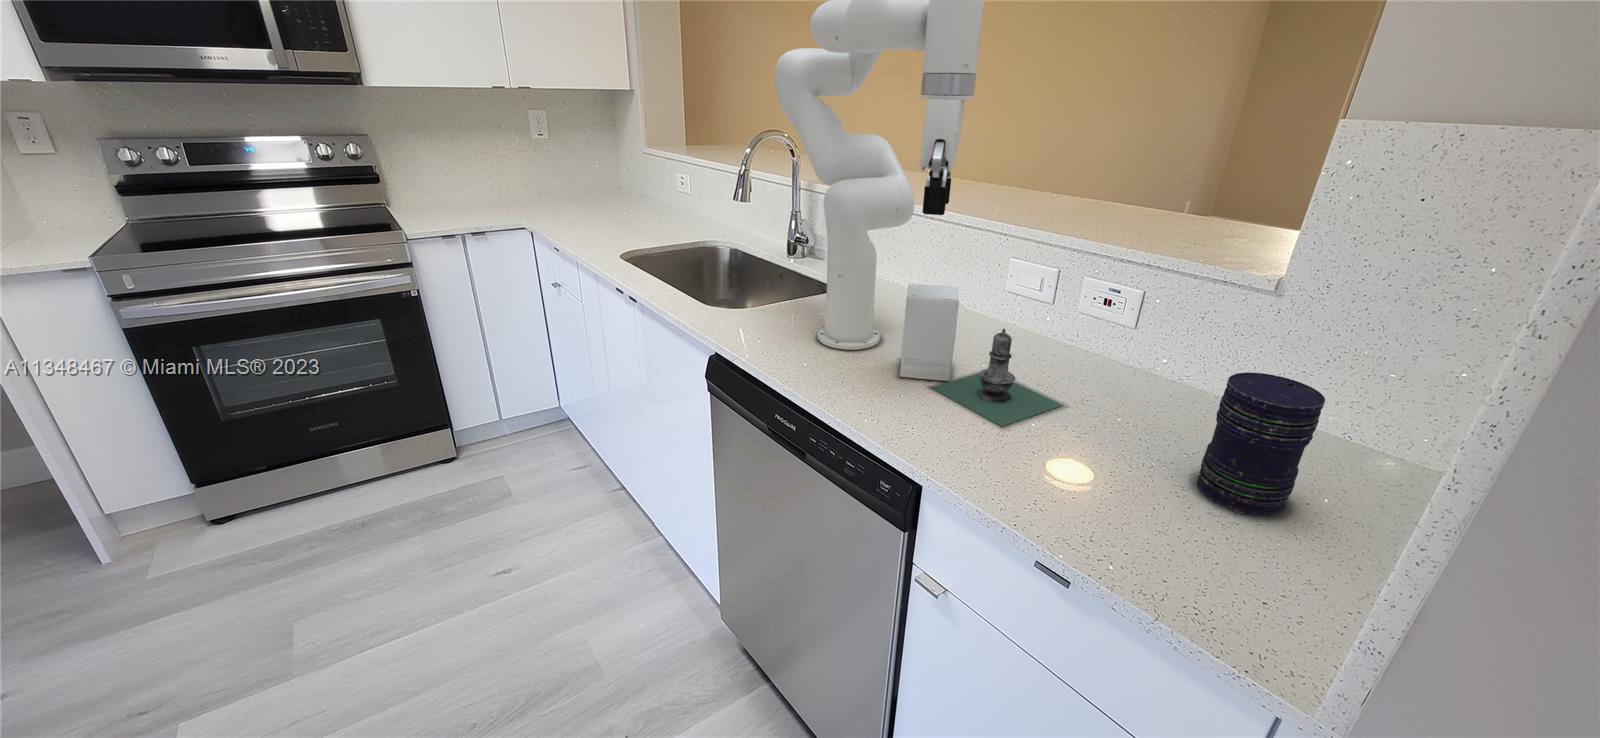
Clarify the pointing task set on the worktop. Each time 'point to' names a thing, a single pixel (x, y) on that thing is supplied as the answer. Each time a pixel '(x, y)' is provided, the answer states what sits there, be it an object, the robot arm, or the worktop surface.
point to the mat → (1003, 413)
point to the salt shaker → (997, 371)
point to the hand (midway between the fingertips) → (936, 208)
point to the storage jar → (1258, 443)
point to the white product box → (929, 331)
